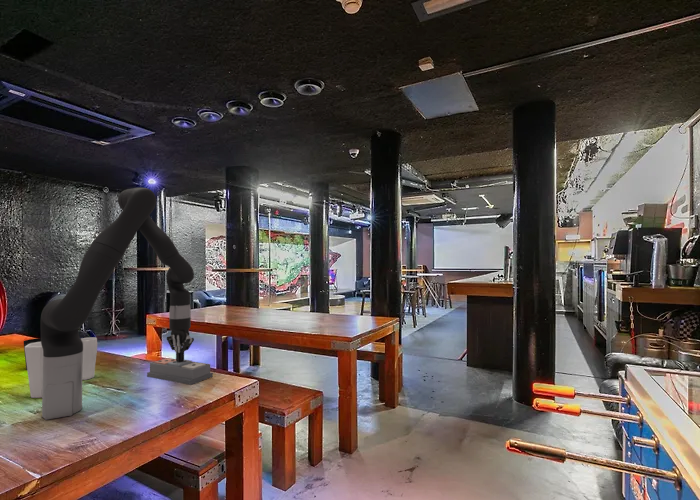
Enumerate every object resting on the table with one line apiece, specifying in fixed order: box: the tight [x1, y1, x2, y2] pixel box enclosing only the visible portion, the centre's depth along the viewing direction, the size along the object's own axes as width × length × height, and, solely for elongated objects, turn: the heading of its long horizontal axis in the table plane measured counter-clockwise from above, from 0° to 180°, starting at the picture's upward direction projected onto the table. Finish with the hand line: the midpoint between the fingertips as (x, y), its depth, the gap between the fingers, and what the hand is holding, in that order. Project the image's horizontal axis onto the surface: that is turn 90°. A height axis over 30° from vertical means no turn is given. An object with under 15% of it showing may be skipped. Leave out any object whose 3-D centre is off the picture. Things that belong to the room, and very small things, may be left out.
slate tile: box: [168, 359, 193, 367], centre depth 138 cm, size 6×6×4 cm
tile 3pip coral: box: [153, 357, 176, 365], centre depth 141 cm, size 6×6×4 cm
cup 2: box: [24, 342, 43, 399], centre depth 120 cm, size 11×10×17 cm
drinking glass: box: [80, 336, 98, 381], centre depth 137 cm, size 7×7×15 cm
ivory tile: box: [181, 361, 207, 369], centre depth 134 cm, size 6×6×4 cm
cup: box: [23, 337, 41, 371], centre depth 151 cm, size 8×8×12 cm
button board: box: [146, 357, 213, 386], centre depth 138 cm, size 24×10×5 cm, turn 65°
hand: (180, 361), depth 138 cm, fingers closed
